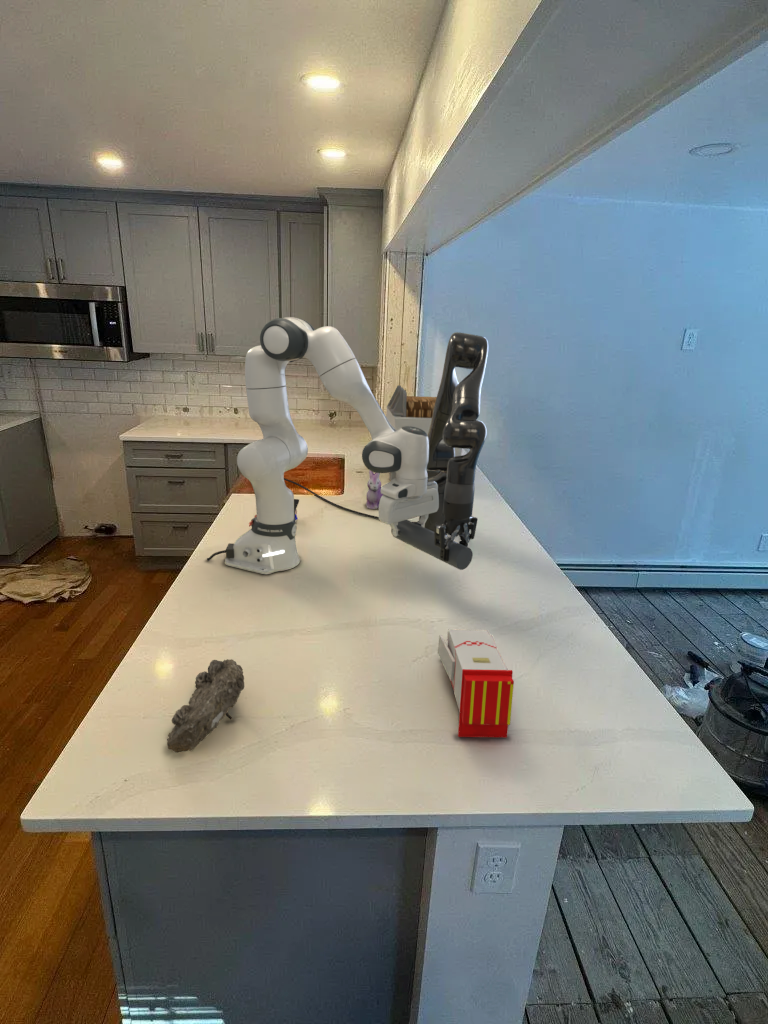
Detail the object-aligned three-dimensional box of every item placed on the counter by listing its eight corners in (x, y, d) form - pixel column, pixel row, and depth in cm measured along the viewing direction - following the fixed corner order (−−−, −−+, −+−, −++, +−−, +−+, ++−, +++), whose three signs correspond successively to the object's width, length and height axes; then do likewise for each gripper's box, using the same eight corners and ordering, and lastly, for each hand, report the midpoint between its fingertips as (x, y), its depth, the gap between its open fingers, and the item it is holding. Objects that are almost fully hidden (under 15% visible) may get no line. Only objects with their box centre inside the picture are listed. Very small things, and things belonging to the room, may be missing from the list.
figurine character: (295, 534, 198) (300, 515, 212) (294, 515, 195) (299, 497, 208) (275, 534, 198) (282, 514, 212) (275, 514, 195) (281, 496, 208)
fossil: (192, 660, 117) (244, 628, 112) (224, 691, 120) (276, 661, 115) (142, 746, 98) (202, 712, 93) (182, 779, 101) (242, 748, 96)
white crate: (382, 463, 289) (386, 382, 275) (445, 464, 293) (451, 384, 279) (390, 482, 257) (394, 392, 243) (460, 483, 261) (468, 394, 247)
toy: (488, 613, 130) (523, 677, 101) (484, 667, 133) (517, 744, 104) (435, 612, 130) (455, 676, 101) (432, 666, 133) (451, 743, 103)
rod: (471, 566, 150) (473, 545, 147) (455, 572, 146) (457, 550, 144) (406, 535, 168) (407, 515, 166) (390, 539, 164) (391, 520, 162)
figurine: (370, 511, 220) (372, 474, 215) (359, 503, 229) (360, 467, 224) (392, 508, 224) (394, 471, 219) (380, 500, 233) (381, 465, 228)
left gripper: (430, 477, 166) (427, 521, 171) (375, 488, 154) (374, 535, 158) (445, 482, 162) (442, 527, 166) (390, 494, 149) (388, 543, 154)
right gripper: (467, 489, 151) (461, 547, 157) (428, 498, 142) (423, 559, 148) (488, 497, 146) (482, 556, 152) (449, 507, 137) (444, 569, 143)
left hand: (408, 531), depth 162 cm, fingers open, 8 cm apart
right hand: (453, 557), depth 150 cm, fingers closed on rod, 6 cm apart
